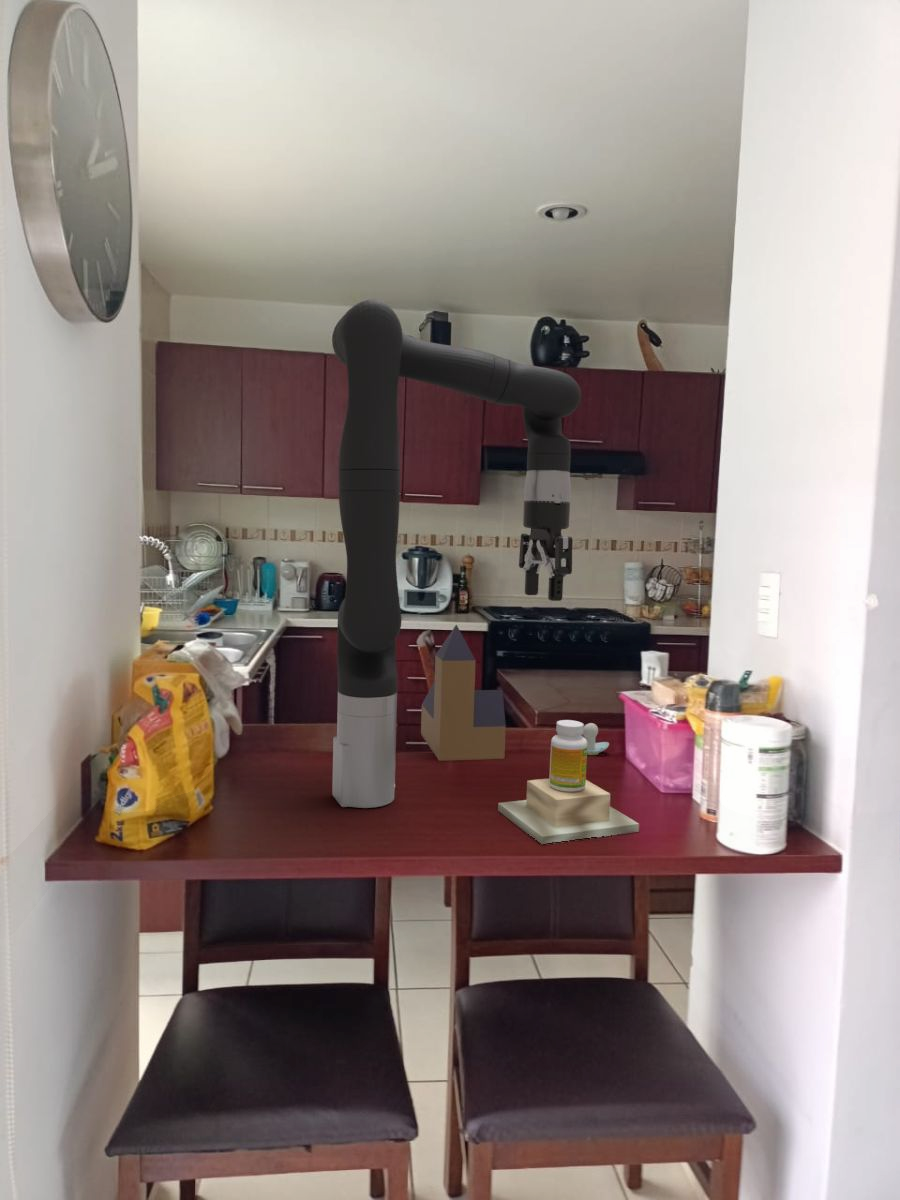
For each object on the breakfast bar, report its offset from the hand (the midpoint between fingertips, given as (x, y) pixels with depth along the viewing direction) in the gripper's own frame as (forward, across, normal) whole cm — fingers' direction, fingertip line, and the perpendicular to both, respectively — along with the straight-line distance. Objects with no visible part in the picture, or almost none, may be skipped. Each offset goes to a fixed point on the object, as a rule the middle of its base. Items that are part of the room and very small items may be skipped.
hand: (542, 597), depth 137 cm
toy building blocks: (+32, -25, -4) cm, 41 cm away
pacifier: (+32, -14, +19) cm, 40 cm away
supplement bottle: (+27, +16, -3) cm, 32 cm away
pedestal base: (+32, +17, -3) cm, 36 cm away
